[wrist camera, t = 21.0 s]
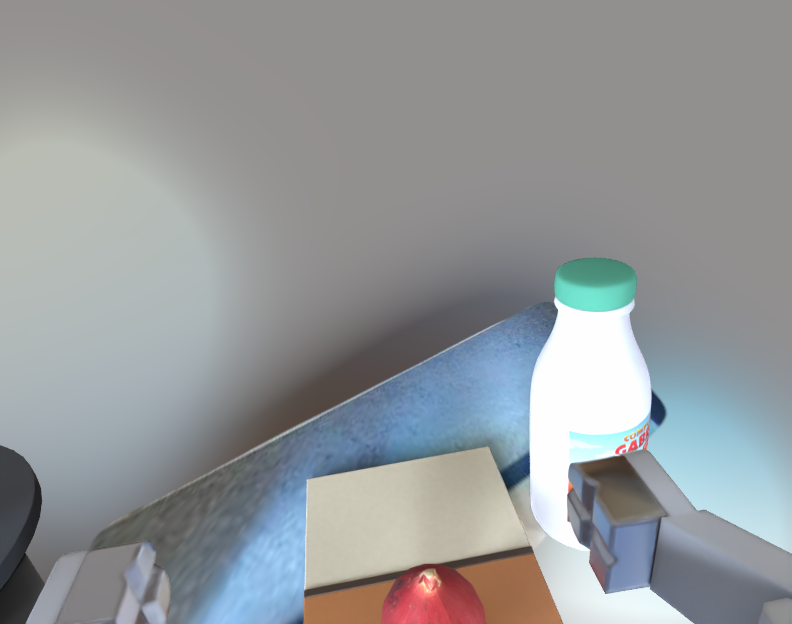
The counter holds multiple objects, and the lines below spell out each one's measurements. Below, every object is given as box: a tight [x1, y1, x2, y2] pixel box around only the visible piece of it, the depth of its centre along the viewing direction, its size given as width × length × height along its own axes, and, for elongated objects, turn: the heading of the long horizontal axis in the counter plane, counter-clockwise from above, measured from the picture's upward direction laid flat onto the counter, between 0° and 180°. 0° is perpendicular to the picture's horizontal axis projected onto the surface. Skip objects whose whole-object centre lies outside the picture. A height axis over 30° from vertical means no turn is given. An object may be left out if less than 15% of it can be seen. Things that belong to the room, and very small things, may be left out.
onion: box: [381, 564, 486, 624], centre depth 31 cm, size 6×6×8 cm
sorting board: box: [304, 446, 563, 624], centre depth 38 cm, size 16×22×1 cm
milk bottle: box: [530, 258, 651, 551], centre depth 37 cm, size 8×8×20 cm
